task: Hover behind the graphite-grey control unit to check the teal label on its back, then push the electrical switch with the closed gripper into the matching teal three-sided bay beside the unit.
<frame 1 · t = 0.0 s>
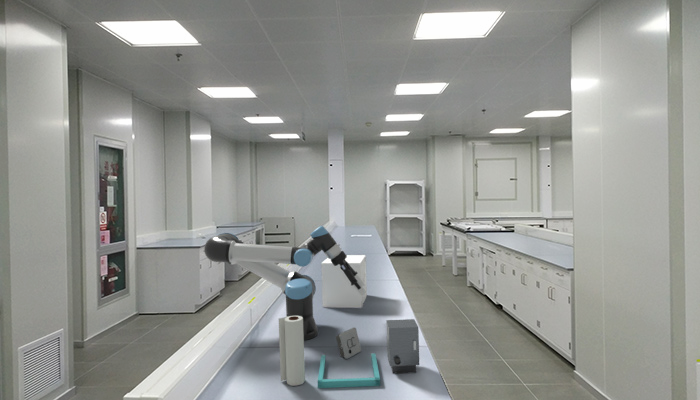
hand: (363, 290, 184), 15 cm above the lab bench, tool tilted 35°, fingers open, 13 cm apart
control unit: (403, 368, 135), on the lab bench
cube: (345, 302, 221), on the lab bench
paper towel roll: (294, 381, 129), on the lab bench
teal bay: (348, 372, 134), on the lab bench
electrical switch: (348, 354, 149), on the lab bench
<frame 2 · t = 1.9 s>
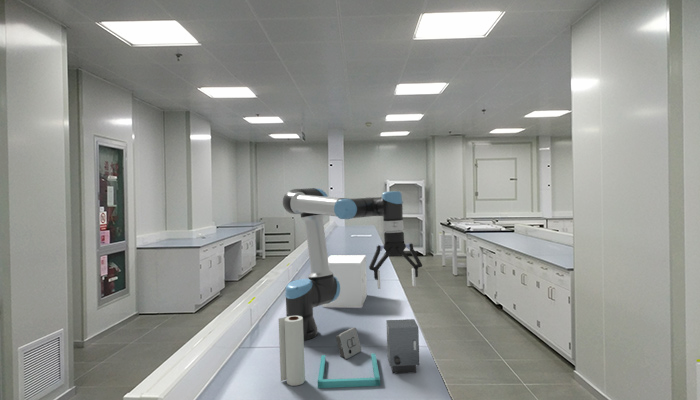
hand: (396, 286, 149), 25 cm above the lab bench, tool pointing down, fingers open, 13 cm apart
nothing on the lab bench moved.
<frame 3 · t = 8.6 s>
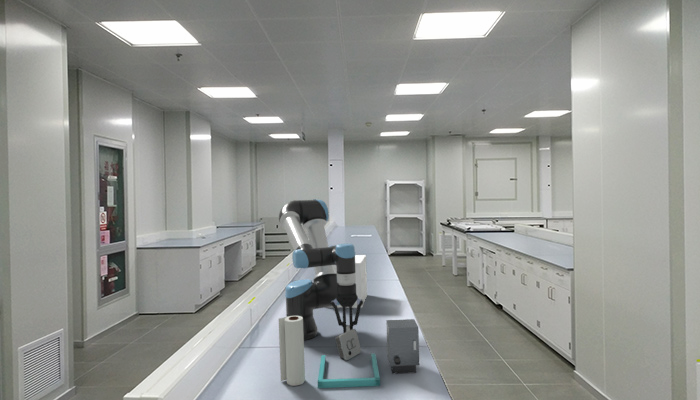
hand: (348, 342, 154), 3 cm above the lab bench, tool pointing down, fingers closed
electrical switch: (348, 356, 148), on the lab bench, touching gripper
everything else where it was.
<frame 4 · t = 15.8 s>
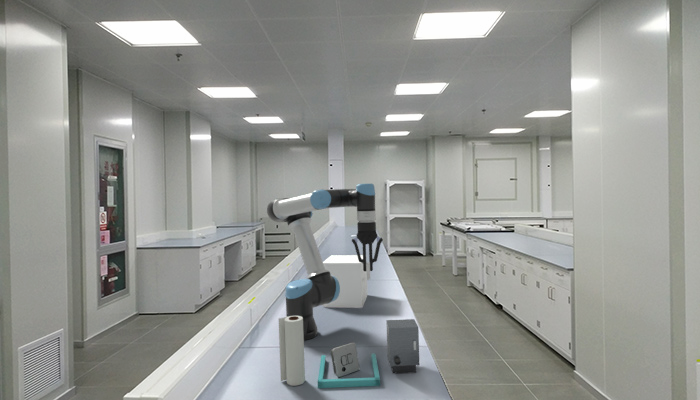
hand: (368, 278, 158), 26 cm above the lab bench, tool pointing down, fingers closed
electrical switch: (344, 372, 135), on the lab bench
everything else where it was.
at the end: electrical switch inside the target area on the teal bay (1.7 cm from its centre), point 0.0 cm above the teal bay's base; electrical switch tilted 0°; electrical switch moved 14.3 cm from its start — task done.
